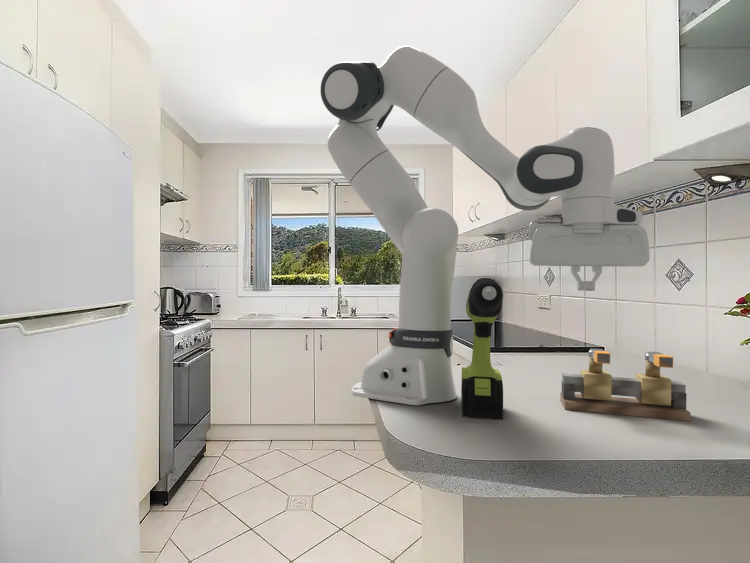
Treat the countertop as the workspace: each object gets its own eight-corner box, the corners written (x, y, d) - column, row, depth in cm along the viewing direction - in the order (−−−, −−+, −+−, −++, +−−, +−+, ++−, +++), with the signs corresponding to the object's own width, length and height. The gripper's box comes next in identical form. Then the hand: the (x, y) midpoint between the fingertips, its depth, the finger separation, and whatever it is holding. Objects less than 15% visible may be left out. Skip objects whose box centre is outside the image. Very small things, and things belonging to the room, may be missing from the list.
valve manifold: (564, 409, 87) (565, 359, 87) (560, 399, 95) (561, 353, 95) (690, 420, 81) (691, 367, 81) (674, 409, 89) (675, 360, 89)
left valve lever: (587, 356, 91) (587, 346, 91) (601, 357, 90) (601, 347, 90) (595, 363, 82) (595, 352, 82) (611, 364, 82) (611, 353, 82)
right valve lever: (643, 359, 88) (643, 349, 88) (658, 360, 87) (658, 350, 87) (657, 367, 80) (657, 356, 80) (674, 368, 79) (674, 357, 79)
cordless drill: (511, 439, 69) (514, 276, 69) (464, 436, 70) (467, 276, 70) (495, 402, 92) (498, 279, 92) (460, 399, 93) (463, 278, 93)
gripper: (529, 215, 84) (527, 289, 84) (653, 212, 78) (651, 292, 78) (527, 220, 90) (526, 289, 90) (642, 218, 84) (641, 291, 84)
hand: (585, 290), depth 84 cm, fingers closed
